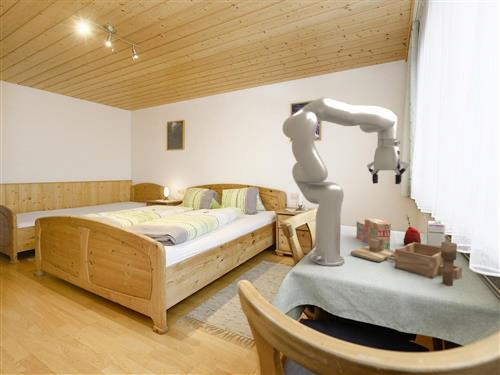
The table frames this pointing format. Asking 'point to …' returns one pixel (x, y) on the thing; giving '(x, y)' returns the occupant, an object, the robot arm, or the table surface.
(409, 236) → the red clay folk toy
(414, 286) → the table surface
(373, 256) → the lid
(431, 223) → the syrup box
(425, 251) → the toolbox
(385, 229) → the stack of blocks
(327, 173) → the robot arm
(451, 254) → the wooden bottle
